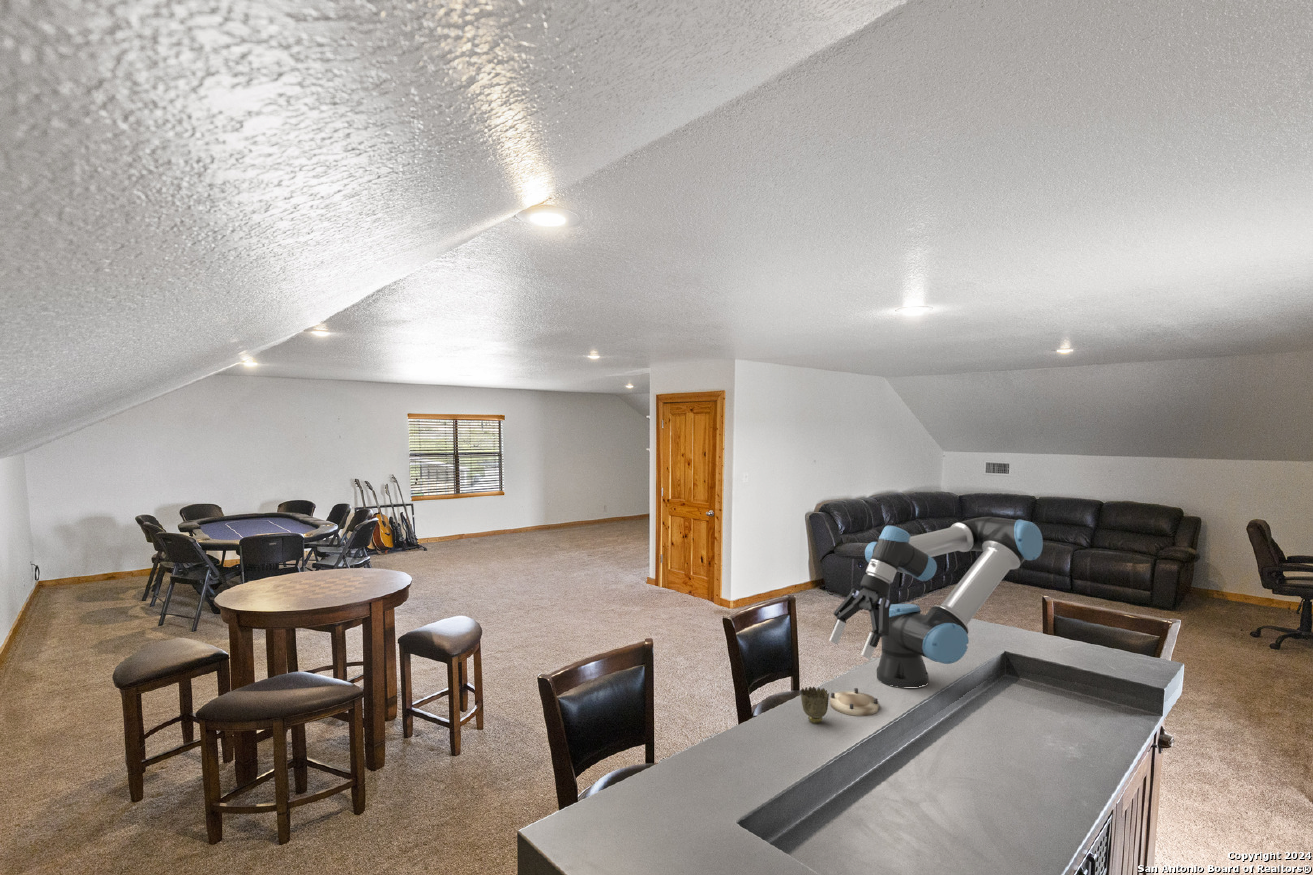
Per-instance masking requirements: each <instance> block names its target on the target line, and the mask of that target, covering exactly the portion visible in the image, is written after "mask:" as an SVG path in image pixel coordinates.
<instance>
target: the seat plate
mask: <svg viewBox="0 0 1313 875" xmlns="http://www.w3.org/2000/svg"><path fill="white" fill-rule="evenodd" d="M829 700H830V702H829V705H830V707H831V708H832V709H833V710H835V711H837V712H839V713H841V714H845V715H849V716H857V717H858V716H859V717H862V716H863V717H864V716H870V715H874V714H875V713H877V712H878V711H879V701H878V698H876V697H874V696H873V695H870V694H868V693H865V692H859V688H858V687H855V688H854V691H839V692H831V693H830V696H829Z"/></svg>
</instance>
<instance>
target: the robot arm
mask: <svg viewBox="0 0 1313 875" xmlns="http://www.w3.org/2000/svg"><path fill="white" fill-rule="evenodd" d="M880 533H881V534H880V535H879V537H878V540H877V541H871V542H870V543H868V545H867V546H866V547H865V550H864V556H865V557H864V558H865V560H866V561H867V563H868V565H867V567H866V570H865V573H866V574H864V575H863V576H862V579H861V581H860V583H859V584H860V587H861V589H860V590H858V589H855V588H851V590H850V592H849V594H848V595H847V596H846V597H845V599H844V600H843V601H842V602H841V603H840V605H839V606H838V607H837V608H836V609H835V610H834V611H833V616H835V618H836V621H835V623H834V625H833V627H832V632H831V634H830V637H829V640H828V641H829V642H831V643H833V644H834V645H839V643H840V640H841V637H842V635H843V633H844V631H845V629H846V626H847V620H849V619H851V618H852V617H853V616H855V614H857V613H858V612H859V611H862V610H865V611H868V612H869V617H870V621H871V628H872V630H870V631H869V633H868V636H867V639H866V640H865V643H864V647H863V649H862V651H861V653H860V656H862V657H864V658H866V659H868V660H871V658H872V656H873V653H874V651H875V649H876V648H877V647H878V644H879V643H880V642H881V655H880V658H879V662H878V666H877V667H876V679H877V680H878V682H880V681H881V682H880V683H882V684H884V685H886V686H887V685H888V686H890V685H893V686H898V687H897V688H899V687H919V686H922V685H926V684H927V683H928V682H929V681H930V680H929V672H928V670H927V668H926V665H925V661H924V659H923V657H924V658H926V659H929V660H930V661H931V662H932V661H933V662H937V663H941V664H945V665H948V664H949V665H950V664H954V663H956V662H958V661H960V660H961V659H962V658H963V657H965V654H966V652H967V650H968V648H969V647H968V644H969V627H968V625H969V623H970V621H972V619H973V618H974V616H975V615H977V613H978V612H979V610H980V609H981V607H983V605H984V603H985V602H986V601H987V600H988V599H989V597H990V596H991V595H992V594H993V592H994V590H995V589H996V588H997V587H998V585H999V584H1000V583H1001V582H1002V580H1003V579H1004V578H1005V576H1006V575H1007V574H1008V573H1009V572H1010V570H1017V569H1019V568H1020V567H1021V565H1022V564H1023V562H1025V561H1026V560H1027V561H1034V560H1037V559H1039V557H1040V556H1041V553H1042V552H1043V547H1044V546H1043V544H1044V542H1043V535H1042V532H1041V529H1039V527H1038V525H1037V524H1035V523H1034V522H1031V521H1028V520H1024V519H1011V518H1004V517H996V516H981V517H975V518H971V519H967V520H966V519H965V520H963V521H958V522H955V523H953V524H952V525H951V526H950V527H948V528H943V529H938V530H934V531H930V532H925V533H921V534H917V535H913V536H911V534H910V533H909V532H908V531H907V530H905V529H902V528H900V527H897V526H895V525H885V527H884V528H883V529H882V531H881V532H880ZM957 551H959V552H962V553H965V552H966V553H967V552H971V551H975V552H982V553H981V554H980V555H979V556H978V558H977V559H976V560H975V561H974V563H972V565H971V566H970V567H969V569H968V570H967V572H966V573H965V574H964V575H963V576H962V577H961V579H960V580H959V581H958V583H957V584H956V585H955V586H954V588H953V589H952V590H951V592H950V593H949V594H948V595H947V596H946V598H945V599H944V600H943V601H942V603H941V604H940V605H937V604H935V605H932V606H931V607H930V608H929V610H928V611H927V613H926V614H923V613H922V610H921V607H920V606H919V605H918V604H913V603H912V604H911V603H895V604H893V603H892V601H891V600H888V598H885V597H887V596H888V594H889V591H890V589H891V585H890V584H892V583H893V582H894V579H895V576H896V574H897V572H898V573H901V574H906V575H909V576H911V577H913V578H914V579H917V580H919V581H921V582H927V581H929V580H930V579H932V578H933V577H934V576H935V574H936V572H937V569H938V565H937V562H936V560H935V559H934V558H933V557H937V556H941V555H945V554H949V553H952V552H957ZM880 639H881V640H880ZM928 684H929V683H928ZM893 686H892V687H893ZM926 686H927V685H926Z"/></svg>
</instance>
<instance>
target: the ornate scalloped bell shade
mask: <svg viewBox="0 0 1313 875" xmlns="http://www.w3.org/2000/svg"><path fill="white" fill-rule="evenodd" d="M799 692H800V698H801V705H802V709H803V712H804V713H805V715H806V716H808V718H807V719H808V721H809V722H810V723H812V724H817V725H818V724H820V723H822V722H823V719H824V718H823V717H824V716H825V715H826V714H827V713H828V707H829V700H830V692H828V690H826V689H825V688H824V687H823V688H820V687H819V686H817V688H816V687H815V686H813V687H812V686H809V687H805V688H801V690H800V691H799Z"/></svg>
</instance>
